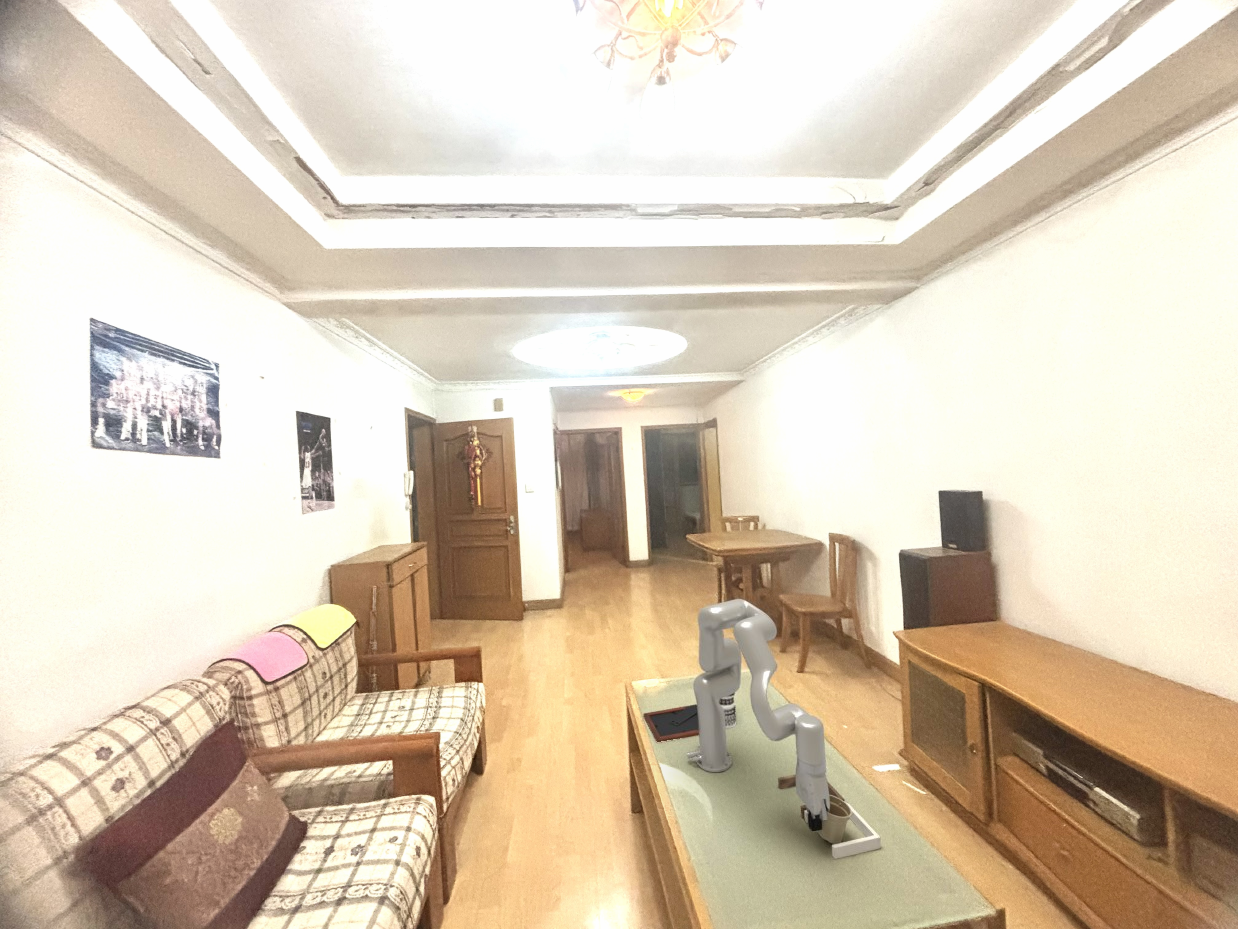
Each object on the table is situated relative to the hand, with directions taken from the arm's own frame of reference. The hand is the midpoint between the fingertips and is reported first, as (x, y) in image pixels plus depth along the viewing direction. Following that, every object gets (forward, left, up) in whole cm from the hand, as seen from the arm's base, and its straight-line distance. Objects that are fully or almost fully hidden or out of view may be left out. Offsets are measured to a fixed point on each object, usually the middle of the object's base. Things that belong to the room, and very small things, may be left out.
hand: (815, 828), depth 134 cm
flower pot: (+4, 0, -3) cm, 5 cm away
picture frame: (-18, +67, -4) cm, 69 cm away
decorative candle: (0, +63, -4) cm, 63 cm away
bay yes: (+8, +1, -4) cm, 9 cm away
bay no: (+8, +16, -4) cm, 18 cm away
